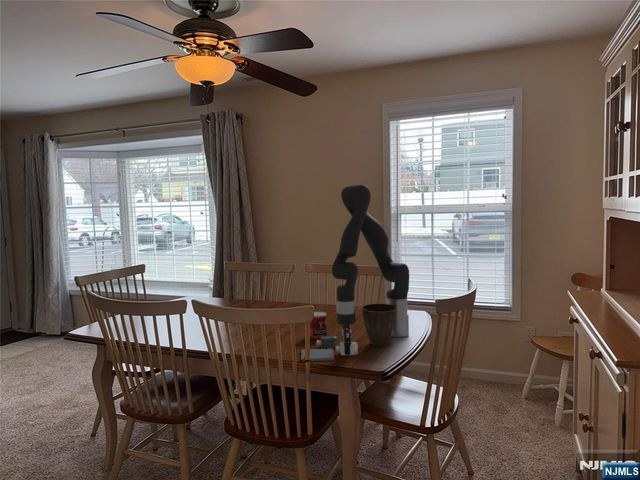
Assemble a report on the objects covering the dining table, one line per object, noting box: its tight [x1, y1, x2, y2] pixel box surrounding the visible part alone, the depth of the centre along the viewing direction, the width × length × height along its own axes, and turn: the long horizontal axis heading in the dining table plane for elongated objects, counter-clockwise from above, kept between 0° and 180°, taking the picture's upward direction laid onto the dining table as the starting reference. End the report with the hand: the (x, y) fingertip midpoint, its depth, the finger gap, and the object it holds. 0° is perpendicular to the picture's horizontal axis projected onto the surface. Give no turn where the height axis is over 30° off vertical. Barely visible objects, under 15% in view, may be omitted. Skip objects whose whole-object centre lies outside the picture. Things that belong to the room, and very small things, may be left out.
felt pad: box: [300, 348, 335, 362], centre depth 181 cm, size 13×11×1 cm
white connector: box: [334, 341, 359, 356], centre depth 182 cm, size 9×4×4 cm, turn 91°
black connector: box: [316, 335, 339, 349], centre depth 191 cm, size 9×4×4 cm, turn 91°
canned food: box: [309, 311, 328, 341], centre depth 205 cm, size 8×8×11 cm
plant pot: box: [361, 303, 397, 347], centre depth 193 cm, size 15×15×16 cm
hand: (347, 352), depth 183 cm, fingers closed on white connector, 3 cm apart
